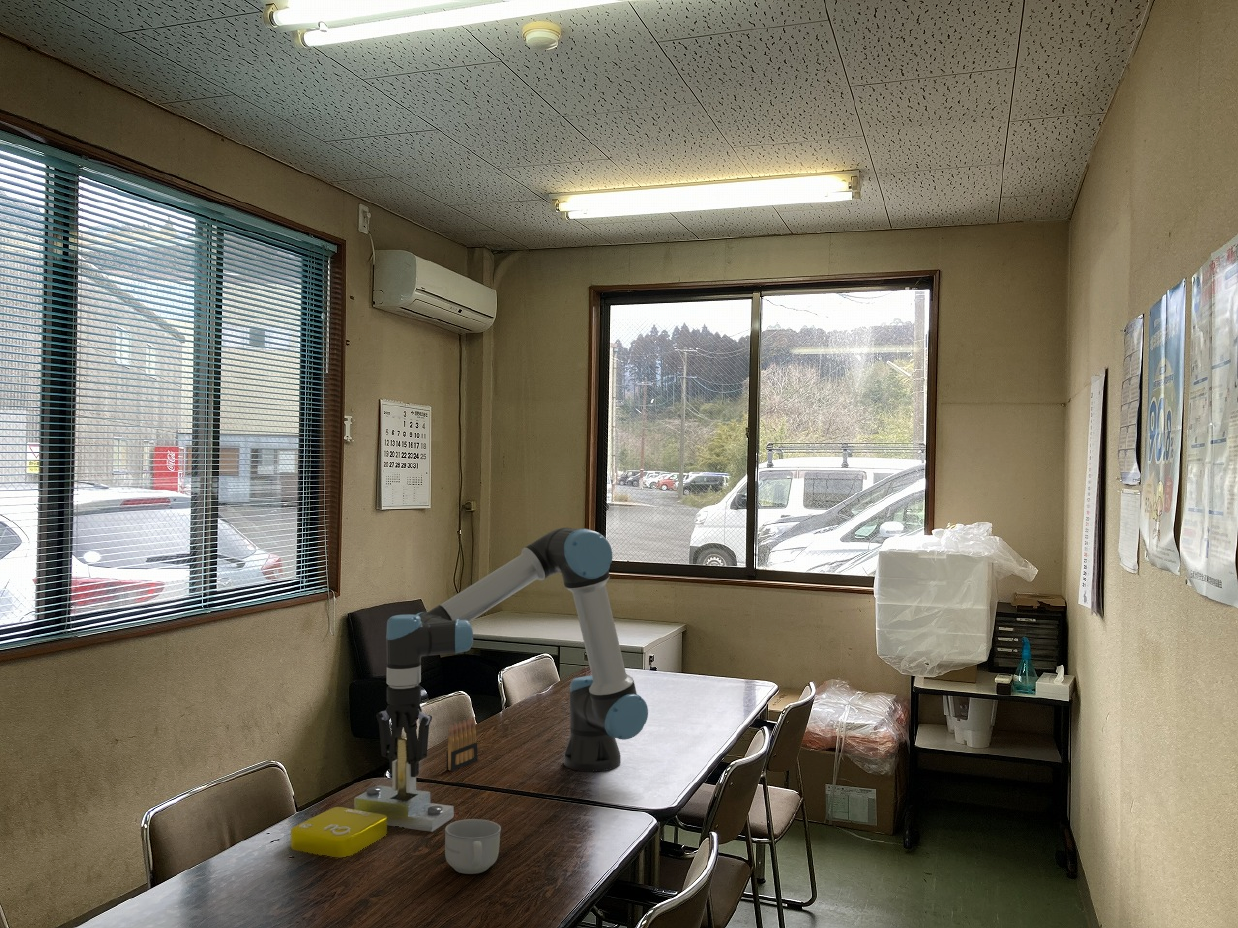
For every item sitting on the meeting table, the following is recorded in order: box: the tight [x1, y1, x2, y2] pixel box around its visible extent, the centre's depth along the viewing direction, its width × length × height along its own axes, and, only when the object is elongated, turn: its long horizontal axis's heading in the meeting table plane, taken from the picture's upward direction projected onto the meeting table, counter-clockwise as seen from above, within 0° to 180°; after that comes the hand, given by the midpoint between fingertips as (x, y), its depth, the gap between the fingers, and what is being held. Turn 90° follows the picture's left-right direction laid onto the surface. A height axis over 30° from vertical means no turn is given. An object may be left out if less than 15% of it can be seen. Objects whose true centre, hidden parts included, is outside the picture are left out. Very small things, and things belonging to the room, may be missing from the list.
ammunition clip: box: [445, 716, 479, 772], centre depth 243 cm, size 11×2×12 cm, turn 149°
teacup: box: [444, 818, 502, 875], centre depth 177 cm, size 14×11×8 cm
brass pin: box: [397, 736, 411, 801], centre depth 205 cm, size 3×3×14 cm
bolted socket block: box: [353, 784, 455, 833], centre depth 204 cm, size 20×9×6 cm, turn 70°
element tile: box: [290, 806, 388, 858], centre depth 192 cm, size 15×15×5 cm
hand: (404, 789), depth 205 cm, fingers closed on brass pin, 3 cm apart
